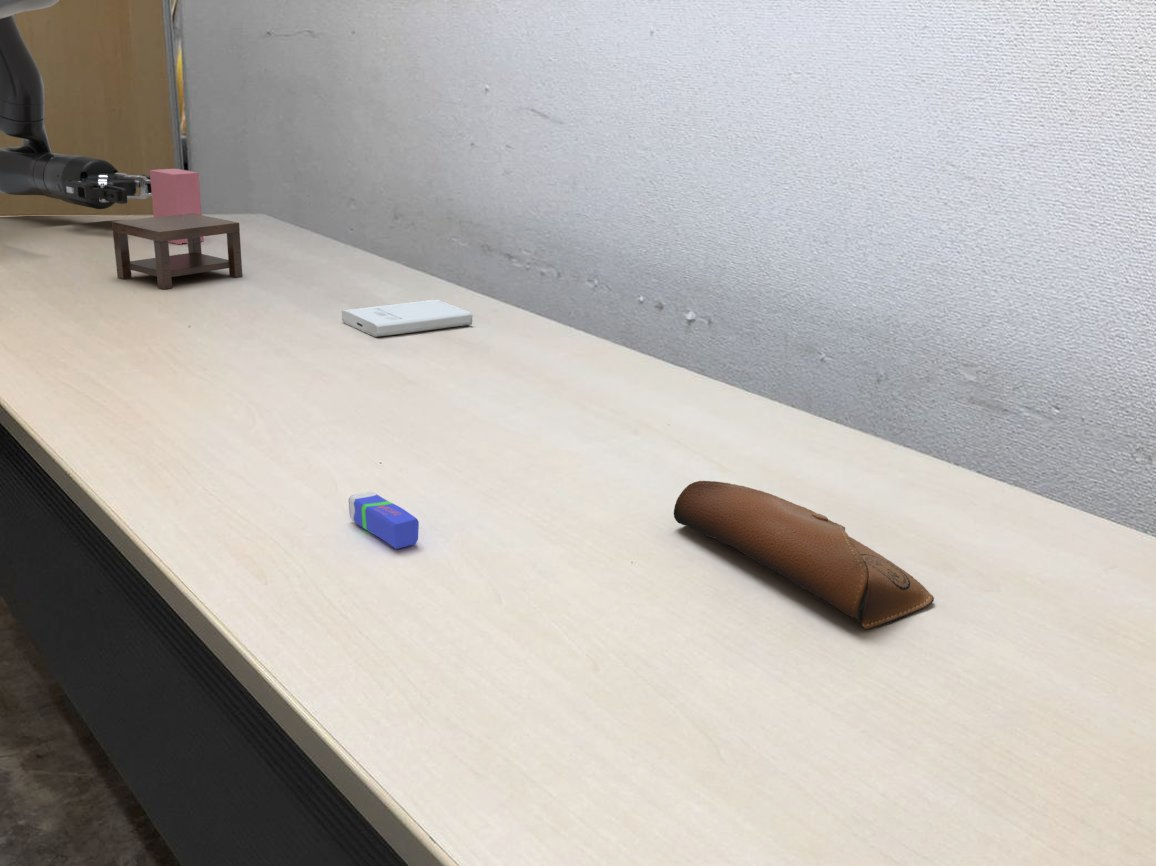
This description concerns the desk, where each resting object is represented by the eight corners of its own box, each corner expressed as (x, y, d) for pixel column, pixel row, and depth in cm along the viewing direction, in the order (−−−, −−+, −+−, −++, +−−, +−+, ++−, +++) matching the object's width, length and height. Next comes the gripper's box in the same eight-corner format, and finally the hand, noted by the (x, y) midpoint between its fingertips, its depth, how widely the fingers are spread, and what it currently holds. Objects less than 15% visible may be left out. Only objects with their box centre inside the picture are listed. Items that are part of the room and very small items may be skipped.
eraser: (373, 515, 79) (373, 488, 79) (419, 545, 75) (419, 517, 75) (348, 521, 78) (347, 494, 77) (393, 552, 74) (393, 524, 73)
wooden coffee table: (164, 289, 137) (159, 232, 135) (117, 277, 142) (111, 221, 139) (242, 276, 147) (239, 222, 145) (196, 265, 151) (192, 213, 149)
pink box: (178, 244, 164) (173, 174, 160) (155, 239, 166) (149, 170, 162) (203, 241, 167) (198, 172, 163) (180, 236, 170) (175, 168, 166)
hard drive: (472, 326, 131) (377, 338, 123) (435, 311, 137) (341, 321, 129) (472, 312, 130) (377, 323, 123) (435, 298, 136) (341, 307, 128)
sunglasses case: (945, 595, 72) (926, 524, 68) (875, 669, 70) (851, 600, 66) (755, 500, 85) (729, 436, 81) (691, 560, 83) (661, 497, 79)
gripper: (36, 158, 167) (104, 171, 160) (120, 154, 179) (188, 165, 171) (42, 209, 170) (110, 224, 163) (125, 201, 182) (192, 215, 174)
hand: (150, 194), depth 167 cm, fingers open, 8 cm apart
